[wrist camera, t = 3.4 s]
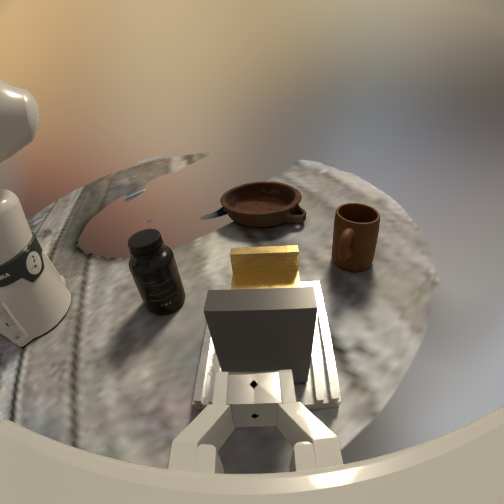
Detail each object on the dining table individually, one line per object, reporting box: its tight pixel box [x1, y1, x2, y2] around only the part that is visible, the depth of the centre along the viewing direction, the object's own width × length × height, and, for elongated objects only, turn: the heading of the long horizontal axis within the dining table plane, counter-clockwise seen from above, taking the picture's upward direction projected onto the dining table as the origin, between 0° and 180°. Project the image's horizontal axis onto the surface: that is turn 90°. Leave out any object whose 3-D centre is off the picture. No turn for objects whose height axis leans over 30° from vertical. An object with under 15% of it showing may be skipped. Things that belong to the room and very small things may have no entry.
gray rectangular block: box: [204, 286, 318, 383], centre depth 28 cm, size 9×6×12 cm
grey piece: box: [192, 245, 341, 410], centre depth 33 cm, size 16×20×8 cm
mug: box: [332, 203, 380, 272], centre depth 44 cm, size 12×8×9 cm, turn 147°
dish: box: [220, 182, 306, 227], centre depth 64 cm, size 18×22×5 cm
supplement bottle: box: [128, 229, 185, 315], centre depth 40 cm, size 7×7×12 cm
